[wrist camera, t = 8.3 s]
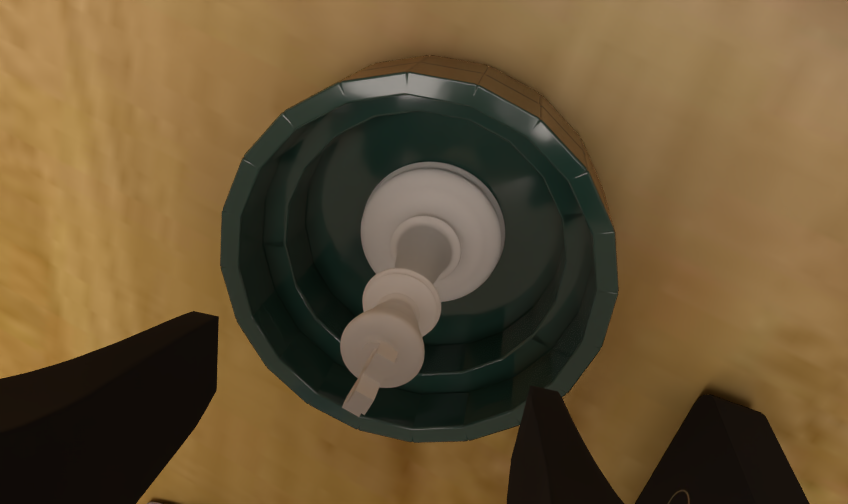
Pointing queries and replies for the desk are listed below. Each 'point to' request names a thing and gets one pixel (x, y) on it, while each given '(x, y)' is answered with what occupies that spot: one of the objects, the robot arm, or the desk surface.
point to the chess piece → (416, 269)
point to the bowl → (350, 272)
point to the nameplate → (723, 460)
